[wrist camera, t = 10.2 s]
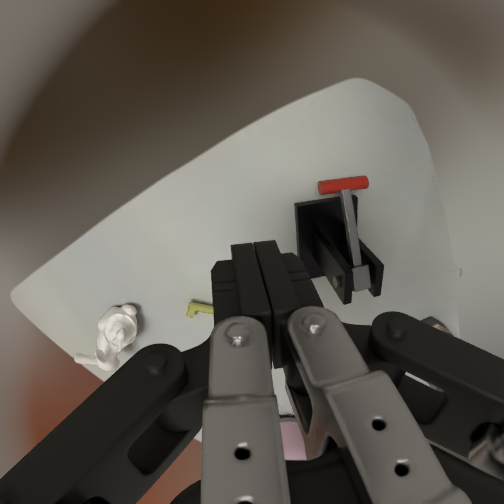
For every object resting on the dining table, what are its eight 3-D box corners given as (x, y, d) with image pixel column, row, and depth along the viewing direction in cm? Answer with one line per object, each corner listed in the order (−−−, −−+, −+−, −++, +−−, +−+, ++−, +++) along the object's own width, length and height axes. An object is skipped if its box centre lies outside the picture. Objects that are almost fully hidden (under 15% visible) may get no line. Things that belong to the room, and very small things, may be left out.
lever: (315, 182, 37) (321, 180, 35) (360, 176, 38) (368, 174, 36) (332, 291, 39) (339, 295, 36) (376, 281, 39) (385, 284, 37)
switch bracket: (294, 203, 44) (328, 246, 33) (354, 194, 44) (402, 232, 33) (298, 276, 50) (327, 332, 39) (352, 265, 50) (390, 314, 39)
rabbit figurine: (116, 352, 51) (109, 395, 43) (79, 332, 48) (65, 374, 40) (149, 309, 48) (143, 354, 40) (107, 285, 45) (93, 327, 37)
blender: (265, 411, 66) (298, 542, 38) (311, 413, 70) (352, 530, 42) (240, 443, 72) (262, 556, 44) (282, 444, 76) (311, 548, 48)
